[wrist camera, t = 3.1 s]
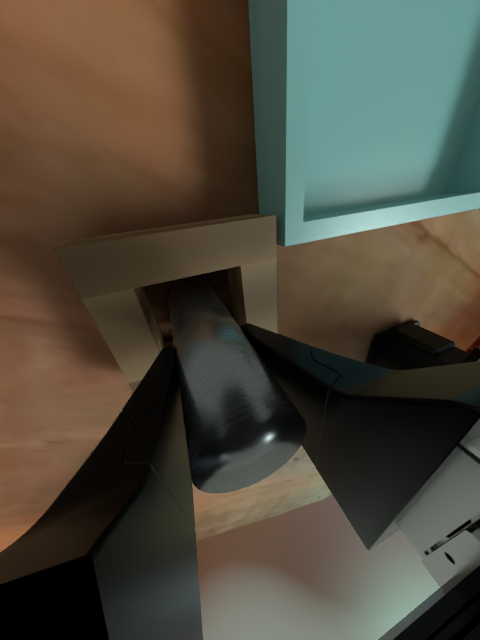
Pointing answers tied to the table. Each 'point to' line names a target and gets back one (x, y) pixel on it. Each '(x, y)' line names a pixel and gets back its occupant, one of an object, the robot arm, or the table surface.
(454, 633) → the robot arm
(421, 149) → the tray
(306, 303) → the table surface
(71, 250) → the pin holder
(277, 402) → the pin
